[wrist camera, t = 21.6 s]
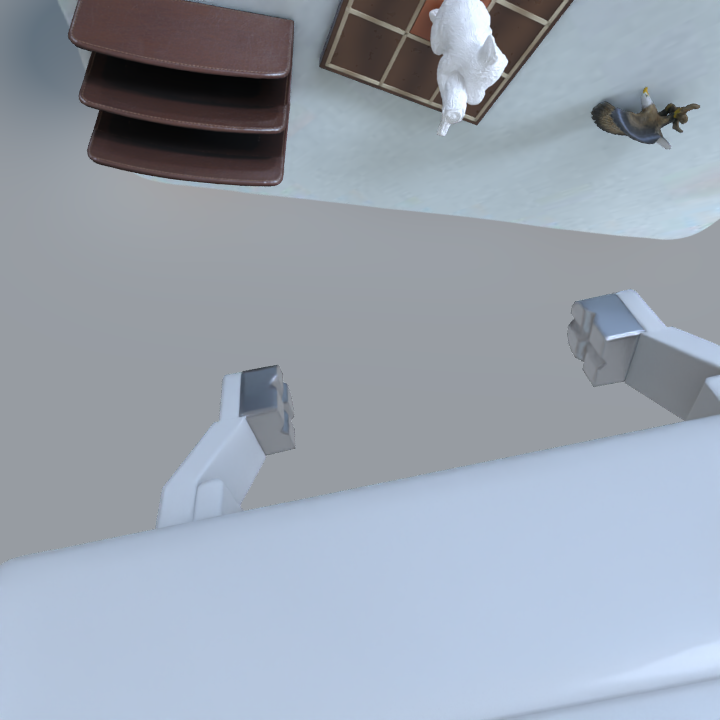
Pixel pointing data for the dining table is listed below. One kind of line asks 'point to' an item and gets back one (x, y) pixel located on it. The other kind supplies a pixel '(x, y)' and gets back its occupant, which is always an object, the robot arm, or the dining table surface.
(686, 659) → the robot arm
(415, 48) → the board
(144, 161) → the letter holder
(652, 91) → the dining table surface
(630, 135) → the eagle figurine
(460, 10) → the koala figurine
